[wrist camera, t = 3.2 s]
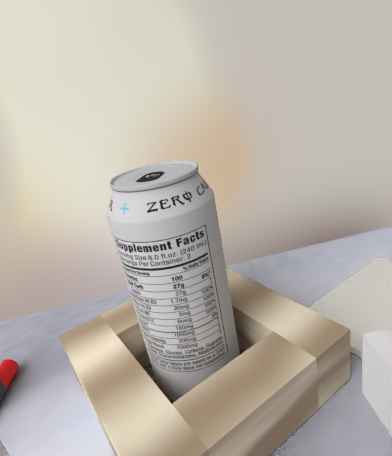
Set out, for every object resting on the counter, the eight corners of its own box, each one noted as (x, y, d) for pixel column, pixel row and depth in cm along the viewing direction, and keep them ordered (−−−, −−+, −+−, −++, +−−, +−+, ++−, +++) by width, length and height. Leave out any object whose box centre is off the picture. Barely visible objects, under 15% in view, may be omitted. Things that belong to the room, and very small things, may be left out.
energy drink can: (248, 349, 26) (219, 153, 20) (235, 421, 21) (191, 184, 15) (174, 344, 28) (128, 164, 22) (145, 410, 22) (75, 195, 17)
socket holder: (350, 378, 22) (350, 329, 20) (166, 555, 15) (145, 502, 14) (216, 295, 33) (210, 259, 31) (76, 376, 26) (59, 336, 25)
